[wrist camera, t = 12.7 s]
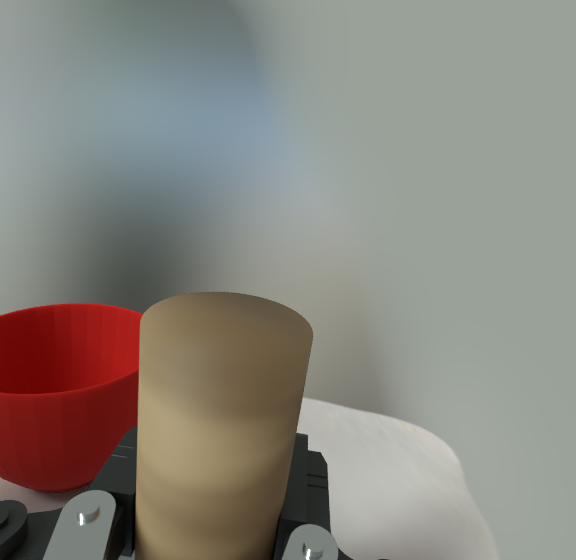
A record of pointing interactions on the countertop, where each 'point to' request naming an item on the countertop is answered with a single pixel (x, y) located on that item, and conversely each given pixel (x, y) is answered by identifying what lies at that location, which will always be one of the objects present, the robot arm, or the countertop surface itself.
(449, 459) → the countertop surface
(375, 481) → the countertop surface
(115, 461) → the robot arm
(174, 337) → the wooden cylinder
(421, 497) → the countertop surface
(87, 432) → the ceramic cup
